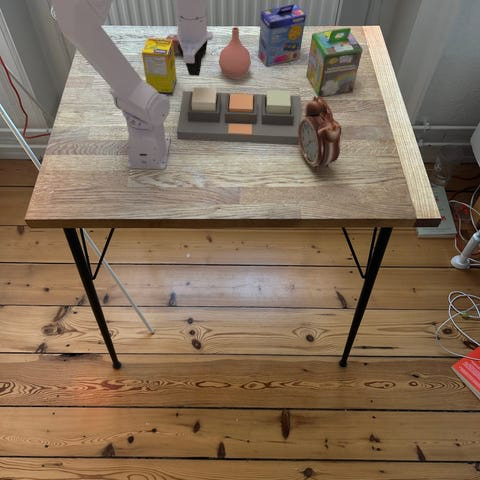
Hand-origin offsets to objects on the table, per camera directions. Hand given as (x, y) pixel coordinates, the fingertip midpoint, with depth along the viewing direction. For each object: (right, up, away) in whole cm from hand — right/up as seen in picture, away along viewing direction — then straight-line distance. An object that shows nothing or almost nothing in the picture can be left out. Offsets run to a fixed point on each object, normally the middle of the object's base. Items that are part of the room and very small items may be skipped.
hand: (194, 73), depth 108 cm
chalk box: (+31, +3, +16) cm, 35 cm away
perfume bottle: (+8, +5, +17) cm, 20 cm away
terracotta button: (+10, -7, +5) cm, 13 cm away
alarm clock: (+25, -19, 0) cm, 32 cm away
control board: (+10, -8, +7) cm, 14 cm away
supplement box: (-9, +1, +13) cm, 16 cm away
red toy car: (-4, +12, +22) cm, 25 cm away
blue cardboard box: (+20, +11, +22) cm, 31 cm away
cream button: (+2, -6, +4) cm, 7 cm away
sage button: (+18, -7, +4) cm, 19 cm away
